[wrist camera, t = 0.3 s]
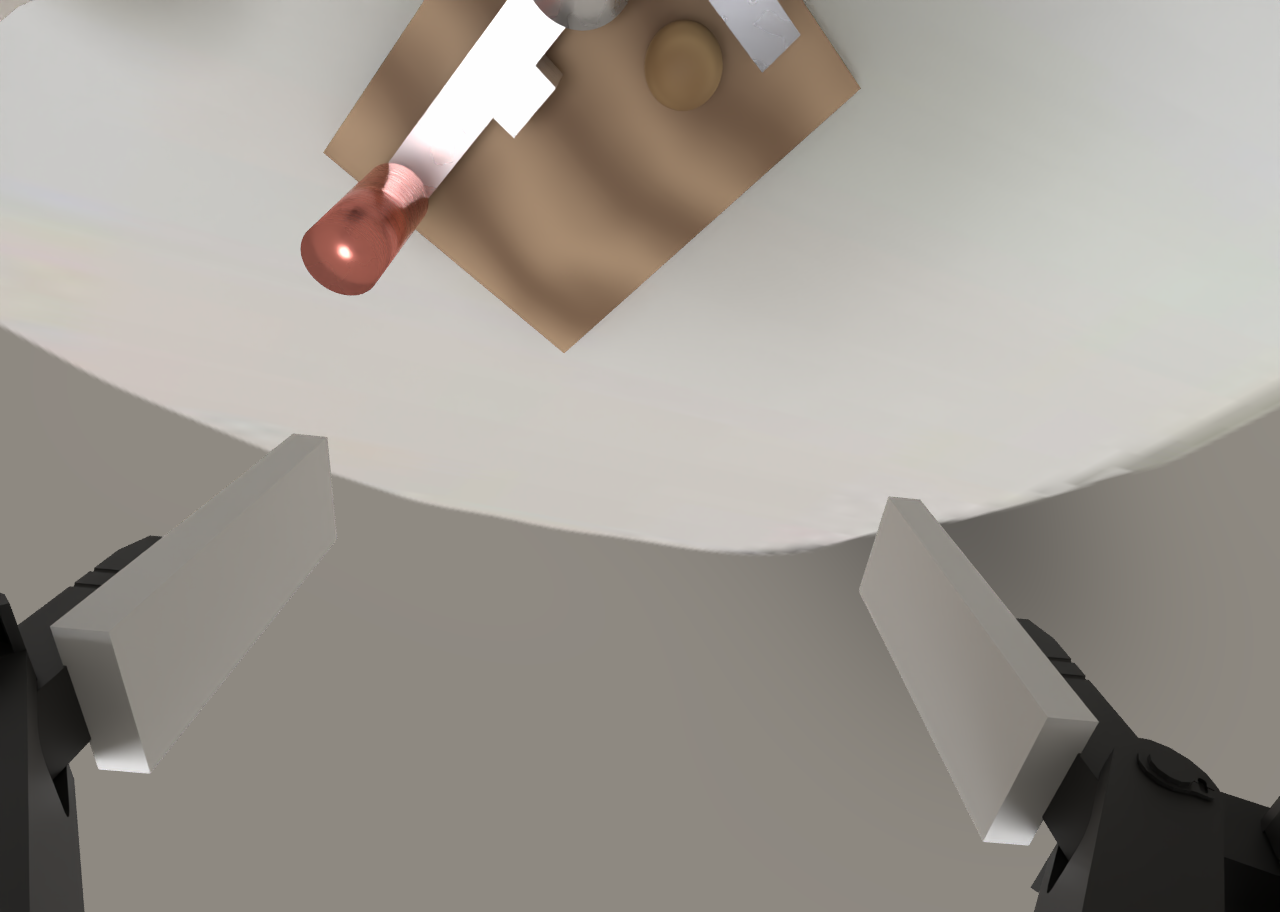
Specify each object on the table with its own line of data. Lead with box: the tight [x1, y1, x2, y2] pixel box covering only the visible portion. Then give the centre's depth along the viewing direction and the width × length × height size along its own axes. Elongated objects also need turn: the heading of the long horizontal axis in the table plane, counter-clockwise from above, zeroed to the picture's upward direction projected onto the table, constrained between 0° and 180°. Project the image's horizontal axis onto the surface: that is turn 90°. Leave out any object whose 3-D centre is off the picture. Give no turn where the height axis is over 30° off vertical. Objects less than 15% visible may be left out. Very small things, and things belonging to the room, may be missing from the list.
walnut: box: [644, 20, 723, 111], centre depth 30 cm, size 4×4×4 cm
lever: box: [301, 0, 629, 295], centre depth 28 cm, size 18×5×10 cm, turn 134°
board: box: [323, 0, 861, 353], centre depth 32 cm, size 22×17×5 cm
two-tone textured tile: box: [709, 0, 801, 73], centre depth 28 cm, size 2×4×4 cm, turn 44°
